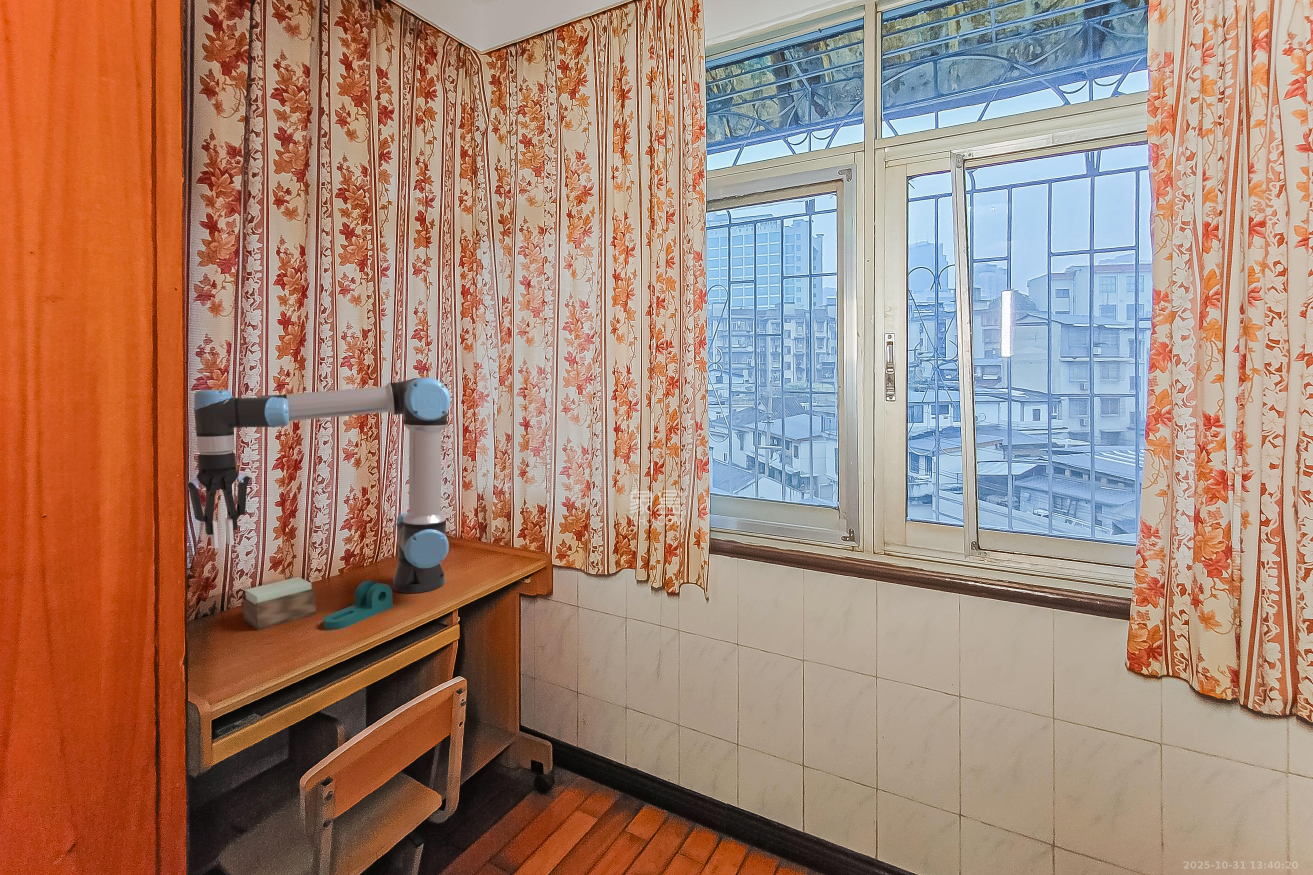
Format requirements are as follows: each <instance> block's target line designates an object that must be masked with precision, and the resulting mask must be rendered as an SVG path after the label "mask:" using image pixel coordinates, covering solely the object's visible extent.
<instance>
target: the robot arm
mask: <svg viewBox="0 0 1313 875" xmlns="http://www.w3.org/2000/svg"><path fill="white" fill-rule="evenodd" d="M193 396H194V397H193V398H194V400H193V401H194V402H193V403H194V405H193V406H194V408H193V412H194V421H195V422H194V423H195V424H194V425H195V435H196V450H197V452H198V453H199V454H198V455H197V466H198V467H197V468H198V473H197V475H196V477H195V478H194V479H192V480H190V481H188V489H187V490H188V492H189V496H190V500H191V505H192V510H193V515H194V519H195V520H197V521H199V522H204V529H205V530H204V531H205V534H206V535H207V536H210V545H211V547H212V548H214V549H218V548H220V546H219V536H218V535H219V532H218V522H217V521H216V520H214V515H215V505H216V504H215V503H216V495H217V491H220V490H221V491H222V493H223V496H224V503H225V507H226V511H227V515H228V517H227V518H224V520H225V521H224V522H225V538H226V544H227V545H229V546H234V545H235V543H234V542H235V539H234V532H235V531H236V532H237V530H238V518H239V517H240V516H243V515H245V513H246V508H247V493H248V492H247V490H248V485H249V482H250V481H251V477H250V476H248V475H245V474H241V473H239V471H238V470H237V463H236V462H237V461H236V453H235V452H234V450H236V447H235V446H236V444H235V432H234V431H235V430H234V429H241V428H279V427H287V426H288V425H289V424H290V422H295V421H306V420H308V421H309V420H315V419H316V420H317V419H327V418H328V419H329V418H338V417H340V418H341V417H348V416H349V417H350V416H358V415H361V416H362V415H370V414H371V415H373V414H382V413H383V414H384V413H389V414H391V415H392V416H394V415H395V416H396V415H403V426H404V427H405V428H407V430H408V432H409V435H408V436H409V438H408V439H409V440H408V441H409V442H408V443H409V444H408V449H409V450H408V512H407V513H406V512H405V513H401V514H399V515H398V516H397V517H396V524H395V525H396V532H397V533H396V534H397V538H396V539H397V564H396V569H395V571H394V576H393V578H392V579H393V580H392V590H394V591H395V592H398V593H401V594H402V593H403V594H419V593H424V592H425V593H426V592H431V591H434V590H436V589H439V588H441V587H442V586H444V584H445V583H446V581H445V580H446V576H445V572H444V570H443V568H442V564H441V563H442V562H443V561H444V559H445V558H446V557H447V555H448V552H449V550H450V549H449V548H450V546H449V545H450V543H449V539H448V537H447V518H446V516H445V515H443V514H442V512H441V510H442V509H441V508H442V506H441V504H442V502H441V501H442V494H441V493H442V491H441V490H442V431H443V430H444V429H445V428H446V427H447V426H448V412H449V409H450V407H451V395H450V391H449V389H448V388H447V386H445V384H443V383H442V382H441V381H439V380H438V379H436V378H433V377H427V376H425V377H415V378H410V379H406V380H401V381H395V382H388V383H386V385H385V386H375V387H363V388H362V387H361V388H348V389H336V390H324V391H322V390H321V391H311V392H298V393H297V392H296V393H287V394H286V393H285V394H273V395H272V394H271V395H270V394H264V395H259V396H257V397H233V394H232V391H231V390H229V389H200V390H197V391H195V393H194V395H193ZM235 481H237V483H238V484H237V499H236V504H235V500H234V499H235V498H234V496H233V495H234V494H233V489H232V488H233V487H232V485H233V484H234V483H235ZM199 484H201V485H202V486H203V487H204V488H205V505H204V512H203V507H202V506H203V505H202V502H201V501H202V500H201V497H200V493H199V490H198V488H199V487H200V485H199Z"/></svg>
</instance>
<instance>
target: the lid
mask: <svg viewBox="0 0 1313 875" xmlns="http://www.w3.org/2000/svg"><path fill="white" fill-rule="evenodd" d="M310 589H313V588H312V583H311V582H310V581H308V580H305V579H303V578H301V577H299V576H297V577H292V578H288V579H284V580H280V581H279V580H278V581H275V582H272V583H267V584H262V585H259V586H255V587H250V588H246V589H245V594H246V599H247V600H249V601H250V602H252V603H253V604H255V605H256V603H259V602H263V601H267V600H271V599H275V598H279V597H282V596H286V595H290V594H294V593H298V592H302V591H306V590H310Z"/></svg>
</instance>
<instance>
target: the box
mask: <svg viewBox="0 0 1313 875" xmlns="http://www.w3.org/2000/svg"><path fill="white" fill-rule="evenodd" d="M241 598H242V612H243V613H242V615H243V621H244V622H245V623H247V624H248V625H249V626H251V627H253V628H254V629H255V630H257V631H260V630H264V629H267V628H271V627H274V626H278V625H281V624H285V623H288V622H292V621H295V620H299V619H302V618H306V617H308V616H309V617H310V616H312V615H316V614H317V604H316V602H317V601H316V588H312V589H310V590H306V591H302V592H298V593H294V594H290V595H286V596H282V597H279V598H275V599H271V600H267V601H263V602H259V603H256V605H255V604H253V603H252V602H250V601H249V600H247V599H246V593H244V594H242V595H241Z"/></svg>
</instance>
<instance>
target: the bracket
mask: <svg viewBox="0 0 1313 875" xmlns="http://www.w3.org/2000/svg"><path fill="white" fill-rule="evenodd" d="M392 590H393V588H392V587H391V585H389V584H386V583H382V582H376V581H373V580H363V581H362V582H361V583H359V584H358V586H357V587H356V589H355V592H354V603H353V605H351V606H350V605H349V606H348V607H345V608H343V609H340V610H338V611H337V610H336V612H332V613H330V614H327V615H326V616H325V617H323V619H322V622H323V628H324V629H325V630H328V631H335V630H337V631H338V630H340V629H341V630H342V629H345V628H347V627H350V626H352V625H355V624H358V623H359V622H362V621H364V620H366V619H368V618H371V617H374V616H376V615H378V614H381V613H382V612H385V611H387V610H389V609H393V608H394V606H393V604H394V603H393V602H394V601H393V591H392Z"/></svg>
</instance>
